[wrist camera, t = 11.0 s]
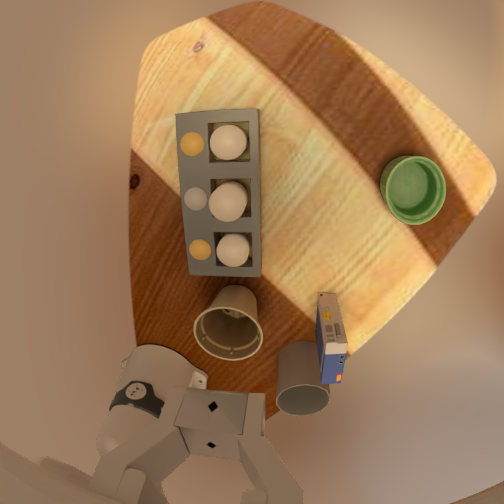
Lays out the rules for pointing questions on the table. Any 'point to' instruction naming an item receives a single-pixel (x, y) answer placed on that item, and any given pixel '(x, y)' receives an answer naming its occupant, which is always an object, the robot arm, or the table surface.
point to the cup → (300, 380)
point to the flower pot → (230, 325)
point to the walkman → (330, 338)
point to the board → (203, 185)
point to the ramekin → (413, 189)
